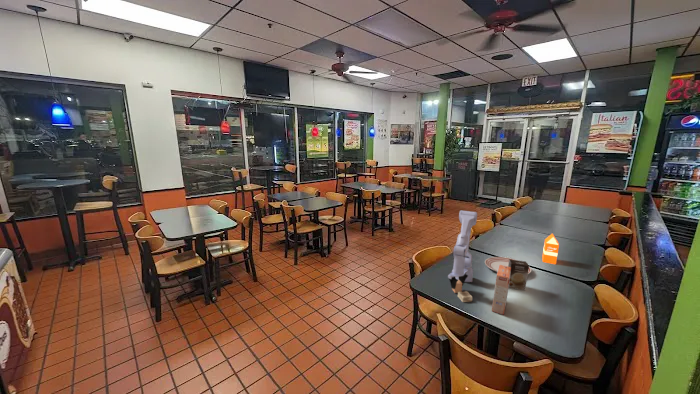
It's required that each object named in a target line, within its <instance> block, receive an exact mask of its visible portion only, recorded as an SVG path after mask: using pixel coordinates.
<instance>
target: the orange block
mask: <svg viewBox="0 0 700 394" xmlns="http://www.w3.org/2000/svg"><path fill="white" fill-rule="evenodd" d="M451 290H452V291H453V292H454V294H458V292H463V286H462V282H461V281H460V280H458V281H457V283H456V288H455V289H453V288H451Z"/></svg>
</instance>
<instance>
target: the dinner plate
mask: <svg viewBox="0 0 700 394" xmlns="http://www.w3.org/2000/svg"><path fill="white" fill-rule="evenodd" d="M509 259H511V260H516V259H515V258H510V257H504V256H493V257H488V258H486V259H485V260H484V264H485V266H486V267H488V269H491V270H492V271H494V272H496V273H497V272H498V268H499V265H503V266H508V265H509ZM531 273H532V268H531V267H530V266H529V269H528V275H529V274H531Z"/></svg>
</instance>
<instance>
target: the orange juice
mask: <svg viewBox="0 0 700 394" xmlns="http://www.w3.org/2000/svg"><path fill="white" fill-rule="evenodd" d="M559 248H560V244H559V241H558V240H557V238H556V237H555V234H553V233H551V234H550V235H548V236H547V237H546V238H544V244H543V250H542V257H541V259H542V263H546V264H552V265H556V264H557V259H558V254H559Z"/></svg>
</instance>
